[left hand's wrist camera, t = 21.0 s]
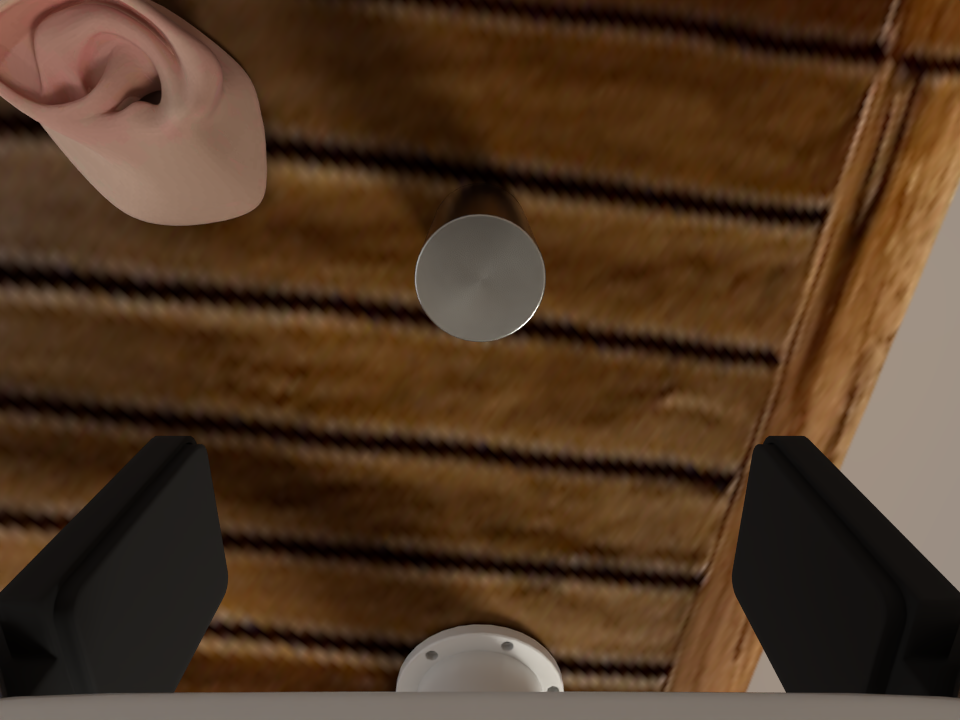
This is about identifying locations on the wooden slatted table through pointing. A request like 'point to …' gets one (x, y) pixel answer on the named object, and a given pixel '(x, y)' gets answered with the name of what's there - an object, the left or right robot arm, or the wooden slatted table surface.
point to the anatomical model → (138, 105)
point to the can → (480, 265)
